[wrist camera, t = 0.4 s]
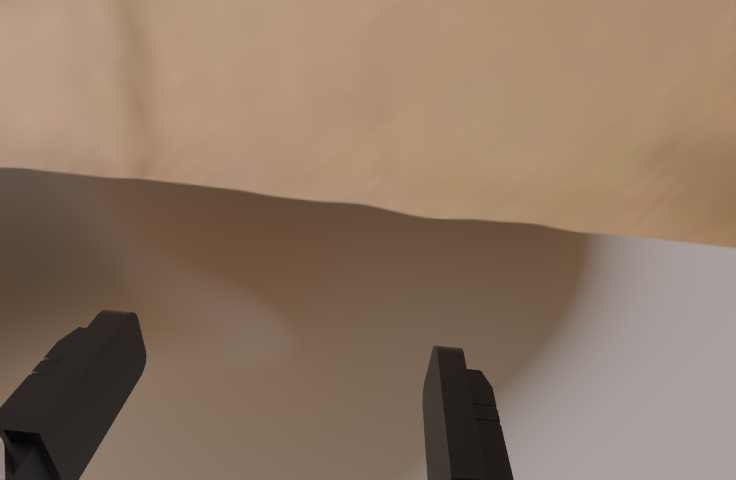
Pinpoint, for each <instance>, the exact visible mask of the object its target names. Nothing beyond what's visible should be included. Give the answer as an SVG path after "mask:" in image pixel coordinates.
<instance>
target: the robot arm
mask: <svg viewBox="0 0 736 480" xmlns="http://www.w3.org/2000/svg"><path fill="white" fill-rule="evenodd" d="M145 363H146V350H145V346H144V341H143V337H142V333H141V329H140V325H139V321H138V317H137V315H136V314H135V313H132V312H122V311H112V310H103V311H101V312H100V313H99V314H98V315H97V316H96V318H95V319H94V320H93V321H92V322H91V323H90V325H89V326H88V327H87V328H81V327H79V328H77V329H76V330H74V331H73V332H71V333H70V334H68V335H67V336H65V337H64V338H62V339H61V340H59V341H58V342H57V343H56V345H55V346H54V347H53V348H52V349H51V350H50V351H49V353H48V354H47V355H46V356H45V357H44V360H43V361H41V362H40V363H39V364H38V365H37V366H36V367H35V369H34V370H33V371H32V374H31V375H28V377H27V378H26V379H25V380H24V381H23V382H22V383H21V385H20V386H19V387H18V388H17V389H16V390H15V391H14V393H13V394H12V395H11V396H10V397H9V398H8V399H7V401H6V402H5V403H4V404H3V405H2V407H0V480H79V478H80V477H81V475H82V473H83V472H84V470H85V468H86V467H87V465H88V463H89V462H90V460H91V458H92V457H93V455H94V453H95V452H96V450H97V448H98V447H99V445H100V443H101V442H102V440H103V438H104V437H105V435H106V433H107V432H108V430H109V428H110V427H111V425H112V423H113V422H114V420H115V418H116V417H117V415H118V413H119V412H120V410H121V408H122V407H123V405H124V403H125V402H126V400H127V398H128V397H129V395H130V394H131V392H132V390H133V388H134V387H135V385H136V383H137V382H138V380H139V378H140V377H141V375H142V373H143V370H144V367H145ZM423 418H424V433H425V447H426V462H427V477H428V480H513V475H512V471H511V467H510V462H509V458H508V454H507V449H506V445H505V441H504V436H503V432H502V428H501V425H500V419H499V415H498V410H497V409H496V402H495V397H494V393H493V389H492V386H491V385H490V383H489V382H488V381H487V379H486V378H485V376H484V375H483V373H482V372H481V371H480V370H471V369H467V368H466V363H465V357H464V352H463V350H462V348H453V347H444V346H434V347H433V350H432V354H431V358H430V362H429V366H428V370H427V374H426V378H425V382H424V388H423Z"/></svg>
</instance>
